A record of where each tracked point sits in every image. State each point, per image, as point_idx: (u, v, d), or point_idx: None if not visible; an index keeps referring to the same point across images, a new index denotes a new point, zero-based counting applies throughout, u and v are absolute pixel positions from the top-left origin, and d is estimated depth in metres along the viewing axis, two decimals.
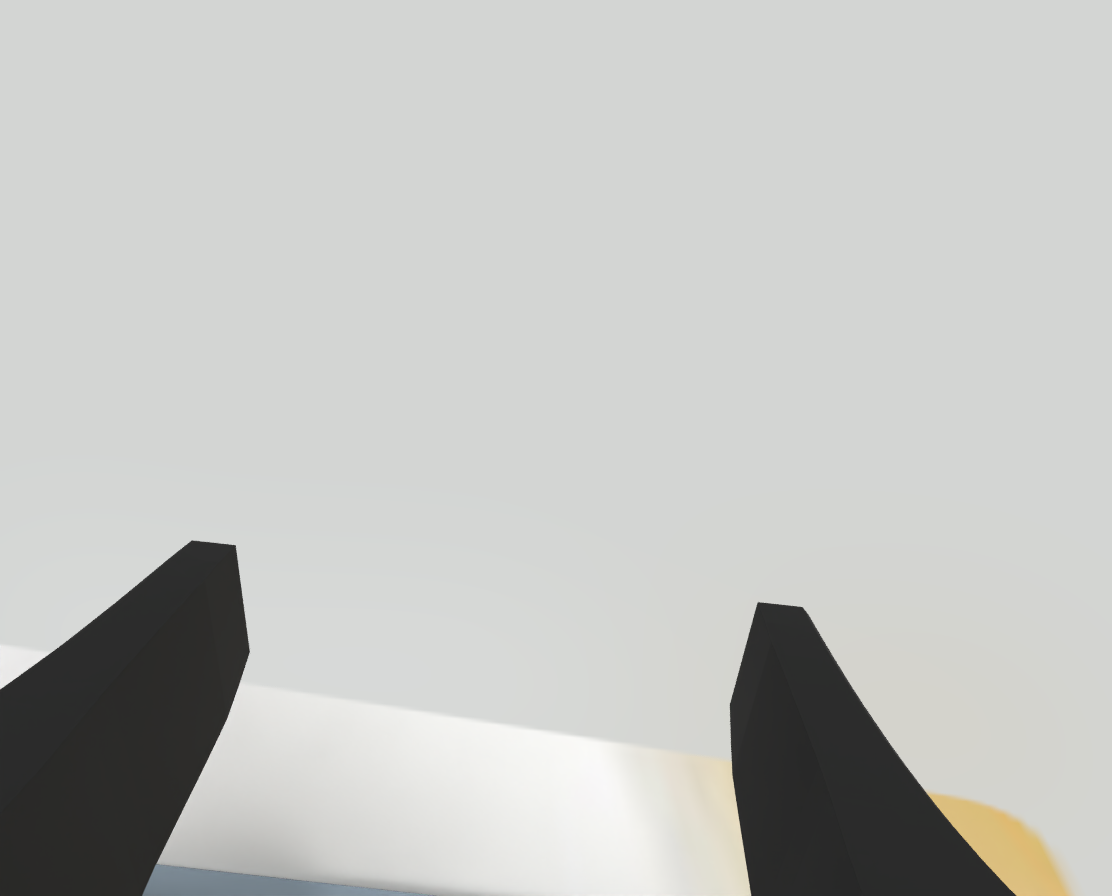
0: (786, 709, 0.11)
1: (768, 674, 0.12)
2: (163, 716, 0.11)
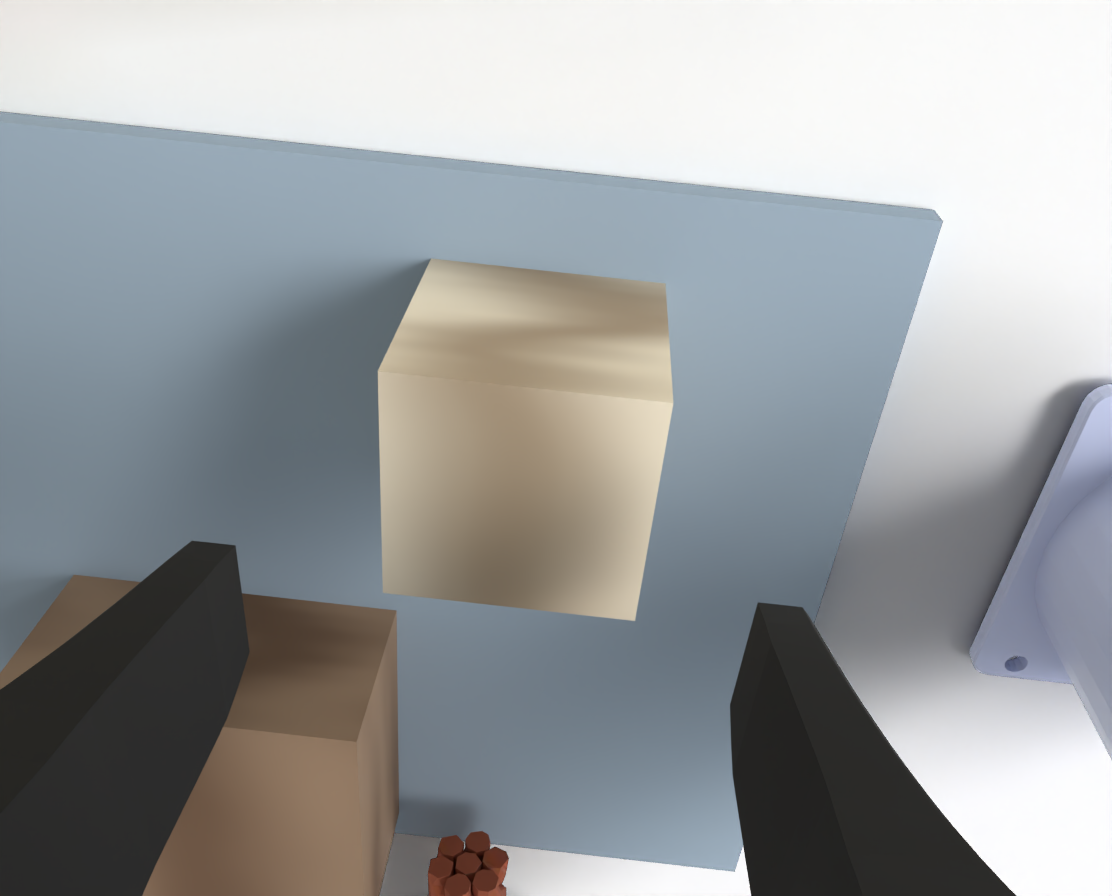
0: (786, 709, 0.11)
1: (768, 674, 0.12)
2: (163, 716, 0.11)
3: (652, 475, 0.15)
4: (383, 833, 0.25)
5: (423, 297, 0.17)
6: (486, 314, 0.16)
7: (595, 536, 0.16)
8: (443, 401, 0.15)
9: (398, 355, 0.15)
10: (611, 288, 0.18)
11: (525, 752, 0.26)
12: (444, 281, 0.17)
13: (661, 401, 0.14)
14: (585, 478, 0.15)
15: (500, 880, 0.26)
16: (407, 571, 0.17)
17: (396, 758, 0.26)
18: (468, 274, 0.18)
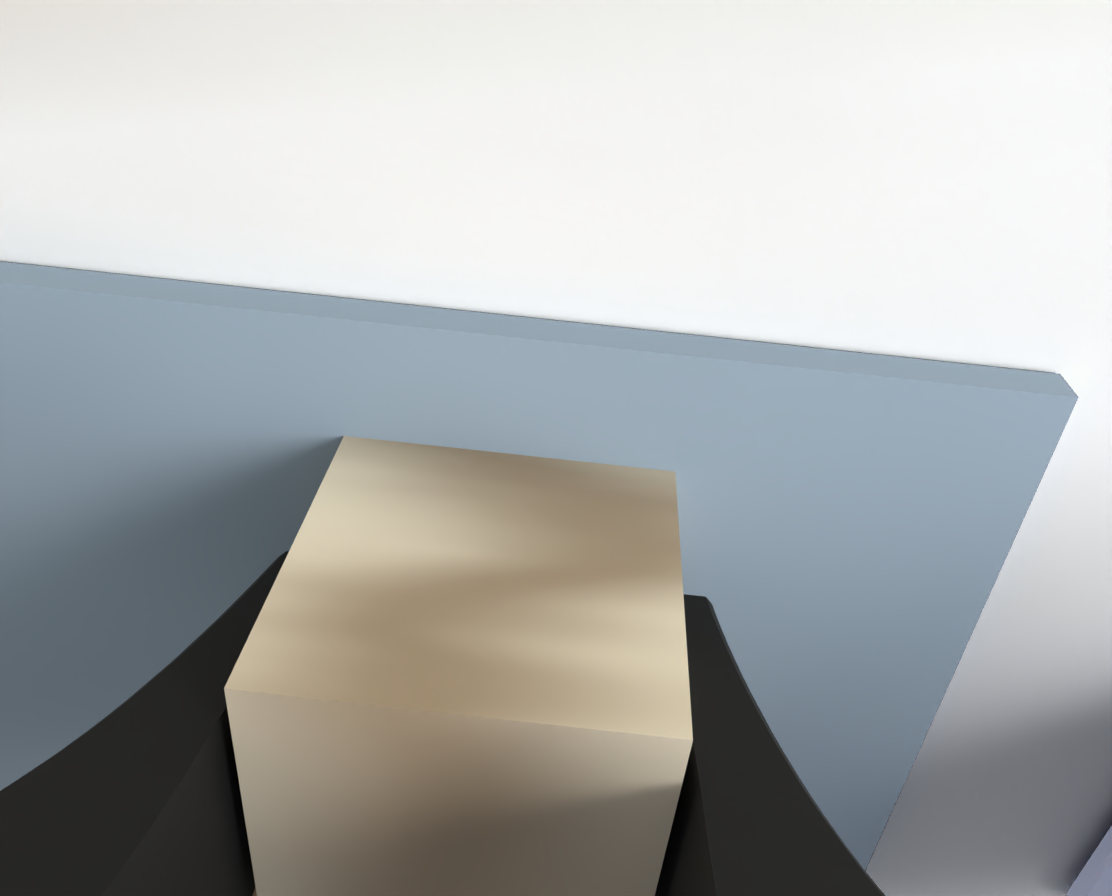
0: None
1: None
2: None
3: (659, 826, 0.10)
4: None
5: (321, 516, 0.11)
6: (413, 546, 0.11)
7: (573, 892, 0.10)
8: (331, 729, 0.09)
9: (263, 648, 0.10)
10: (598, 485, 0.12)
11: None
12: (358, 480, 0.12)
13: (674, 737, 0.09)
14: (556, 827, 0.10)
15: None
16: None
17: None
18: (395, 466, 0.12)
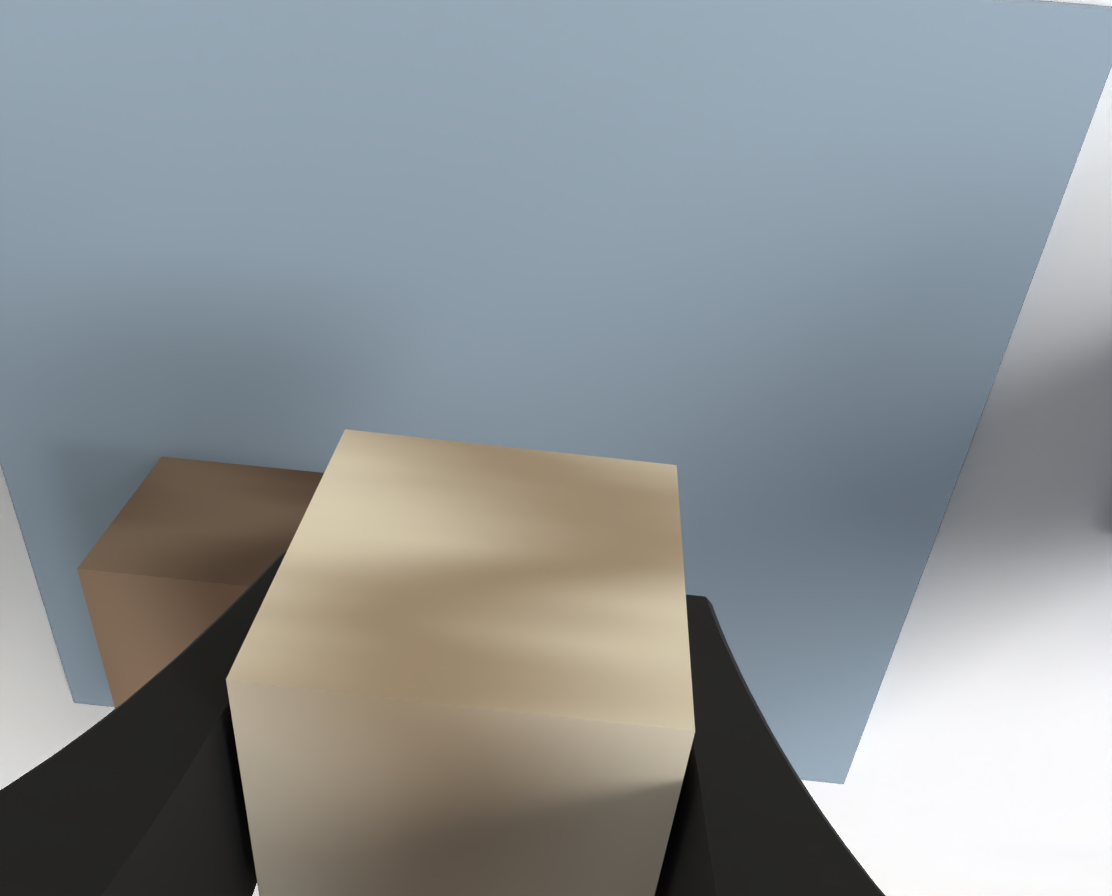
0: None
1: None
2: None
3: (661, 818, 0.10)
4: None
5: (323, 508, 0.11)
6: (413, 539, 0.11)
7: (574, 885, 0.10)
8: (332, 720, 0.09)
9: (265, 639, 0.10)
10: (600, 478, 0.12)
11: None
12: (360, 473, 0.12)
13: (676, 728, 0.09)
14: (558, 818, 0.10)
15: None
16: None
17: None
18: (396, 458, 0.12)
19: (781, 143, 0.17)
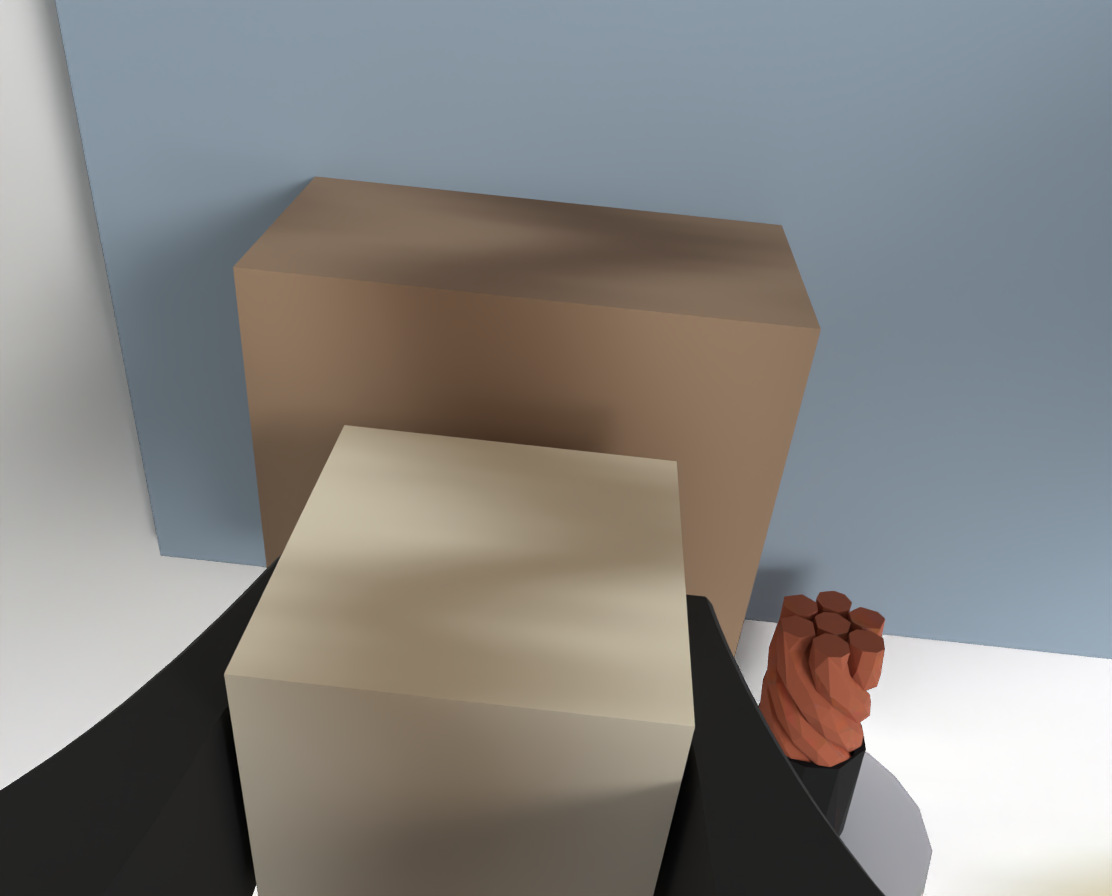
0: None
1: None
2: None
3: (660, 813, 0.10)
4: None
5: (322, 504, 0.11)
6: (413, 534, 0.11)
7: (574, 881, 0.10)
8: (331, 714, 0.09)
9: (264, 634, 0.09)
10: (599, 474, 0.12)
11: (906, 473, 0.19)
12: (358, 468, 0.12)
13: (676, 723, 0.09)
14: (558, 814, 0.10)
15: None
16: None
17: None
18: (394, 454, 0.12)
19: None
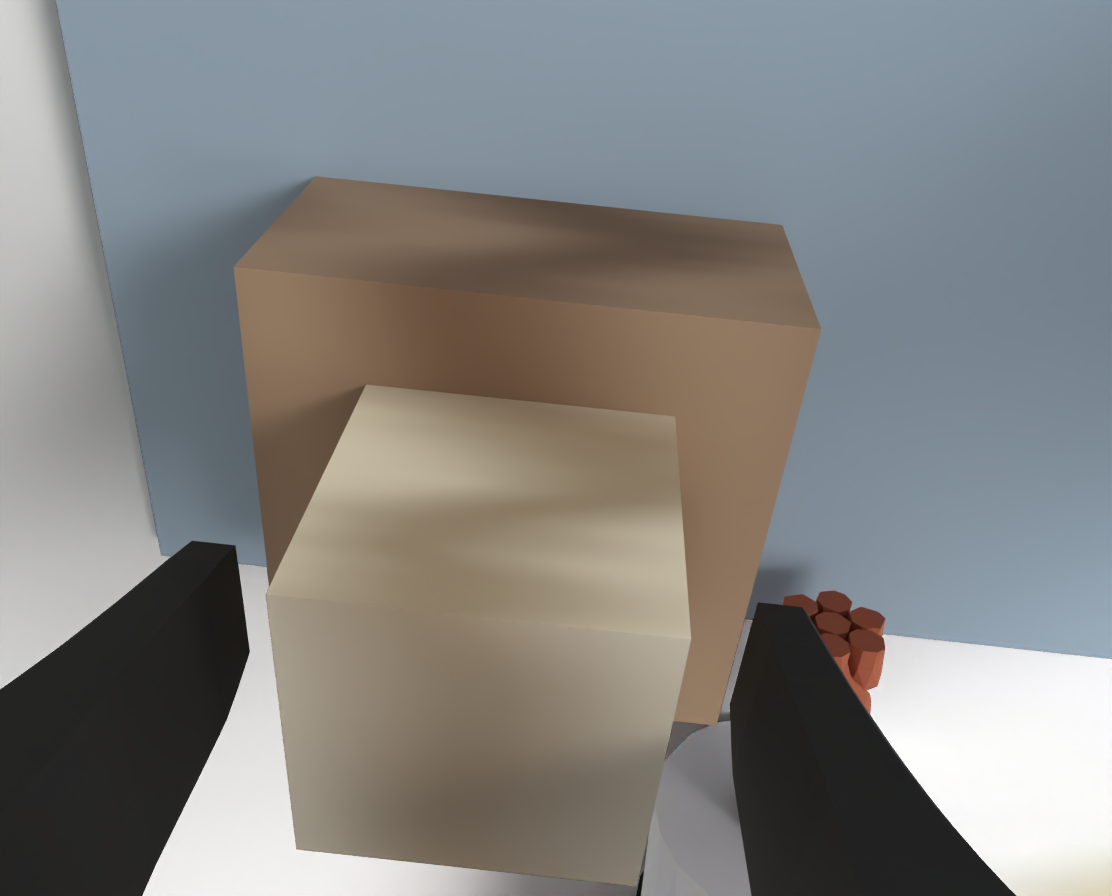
0: (786, 709, 0.11)
1: (768, 674, 0.12)
2: (163, 715, 0.11)
3: (661, 725, 0.11)
4: None
5: (348, 452, 0.12)
6: (432, 478, 0.12)
7: (582, 793, 0.11)
8: (361, 632, 0.10)
9: (300, 561, 0.10)
10: (603, 427, 0.13)
11: (906, 473, 0.19)
12: (380, 422, 0.13)
13: (674, 637, 0.10)
14: (567, 726, 0.11)
15: None
16: (327, 827, 0.12)
17: None
18: (414, 410, 0.13)
19: None
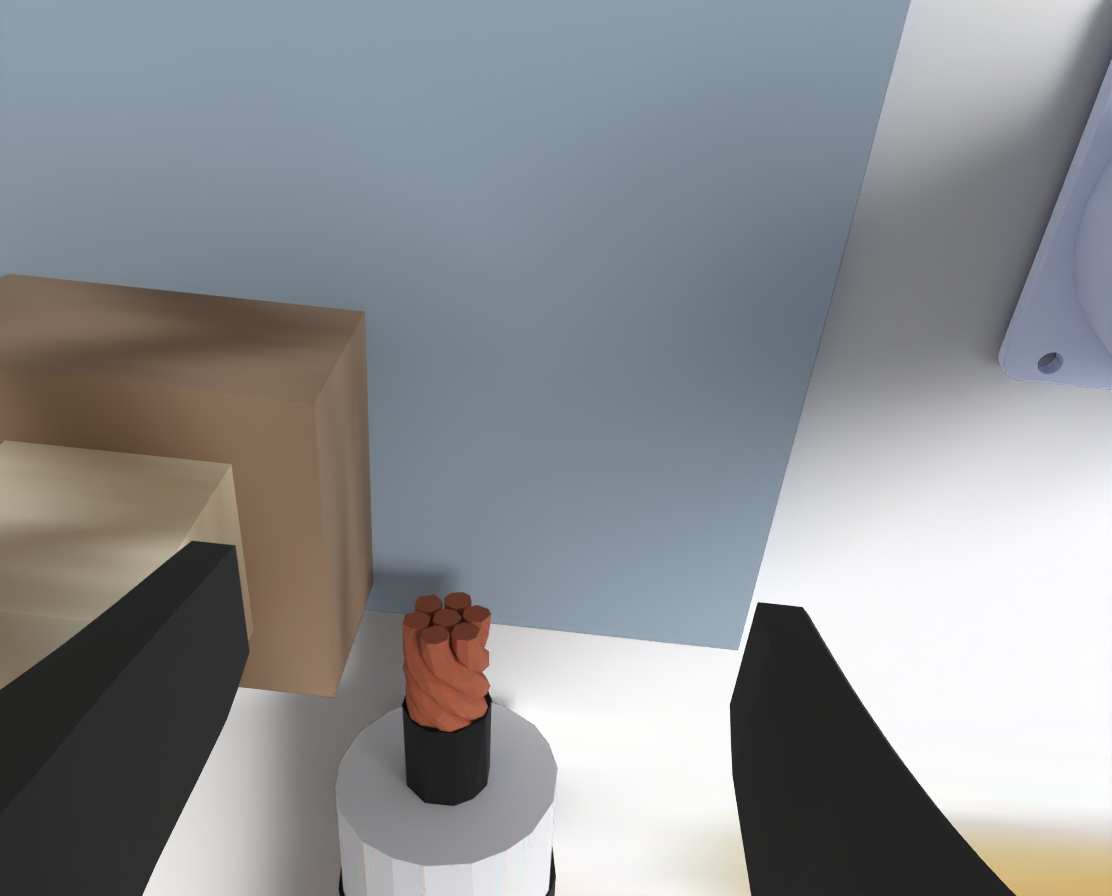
0: (786, 709, 0.11)
1: (768, 674, 0.12)
2: (163, 716, 0.11)
3: None
4: (353, 579, 0.23)
5: None
6: (12, 513, 0.17)
7: None
8: None
9: None
10: (169, 473, 0.18)
11: (509, 499, 0.24)
12: None
13: None
14: None
15: (482, 639, 0.24)
16: None
17: (368, 507, 0.24)
18: (30, 460, 0.18)
19: None
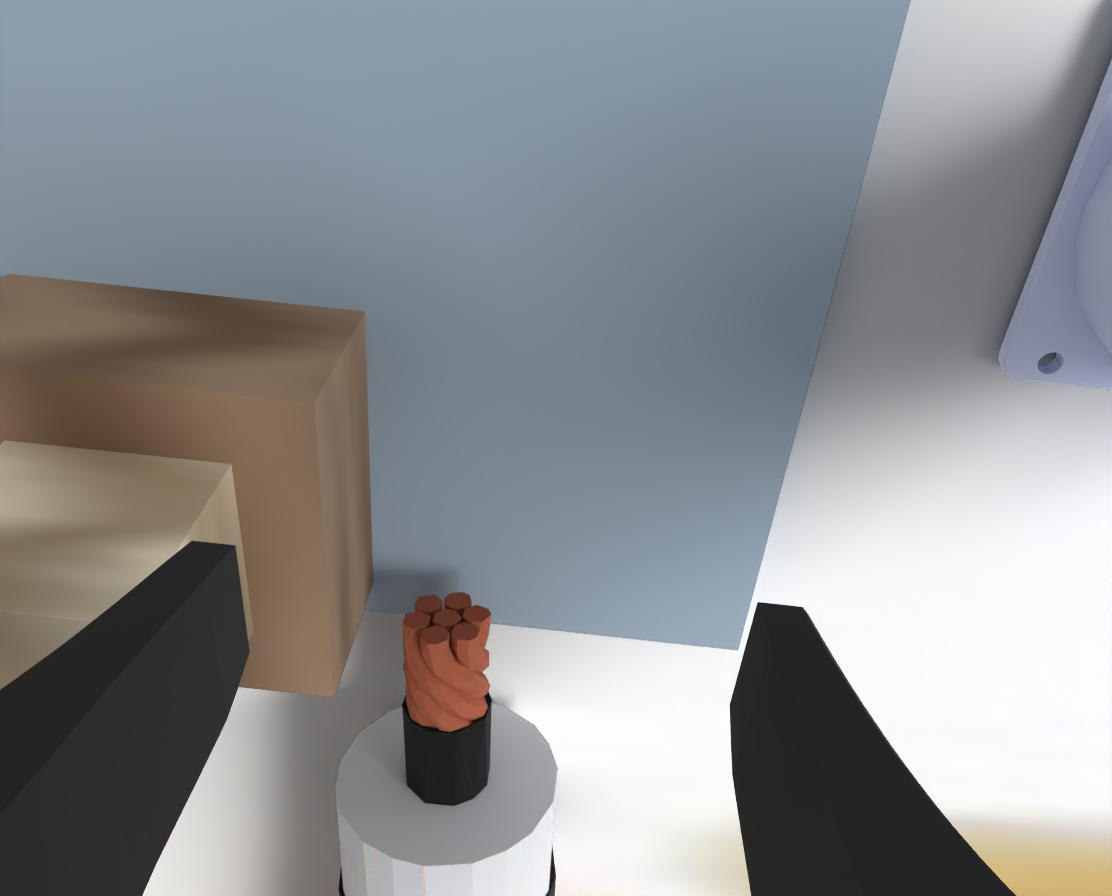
0: (786, 709, 0.11)
1: (768, 674, 0.12)
2: (163, 716, 0.11)
3: None
4: (353, 579, 0.23)
5: None
6: (12, 513, 0.17)
7: None
8: None
9: None
10: (169, 473, 0.18)
11: (509, 499, 0.24)
12: None
13: None
14: None
15: (482, 639, 0.24)
16: None
17: (368, 507, 0.24)
18: (30, 460, 0.18)
19: None
